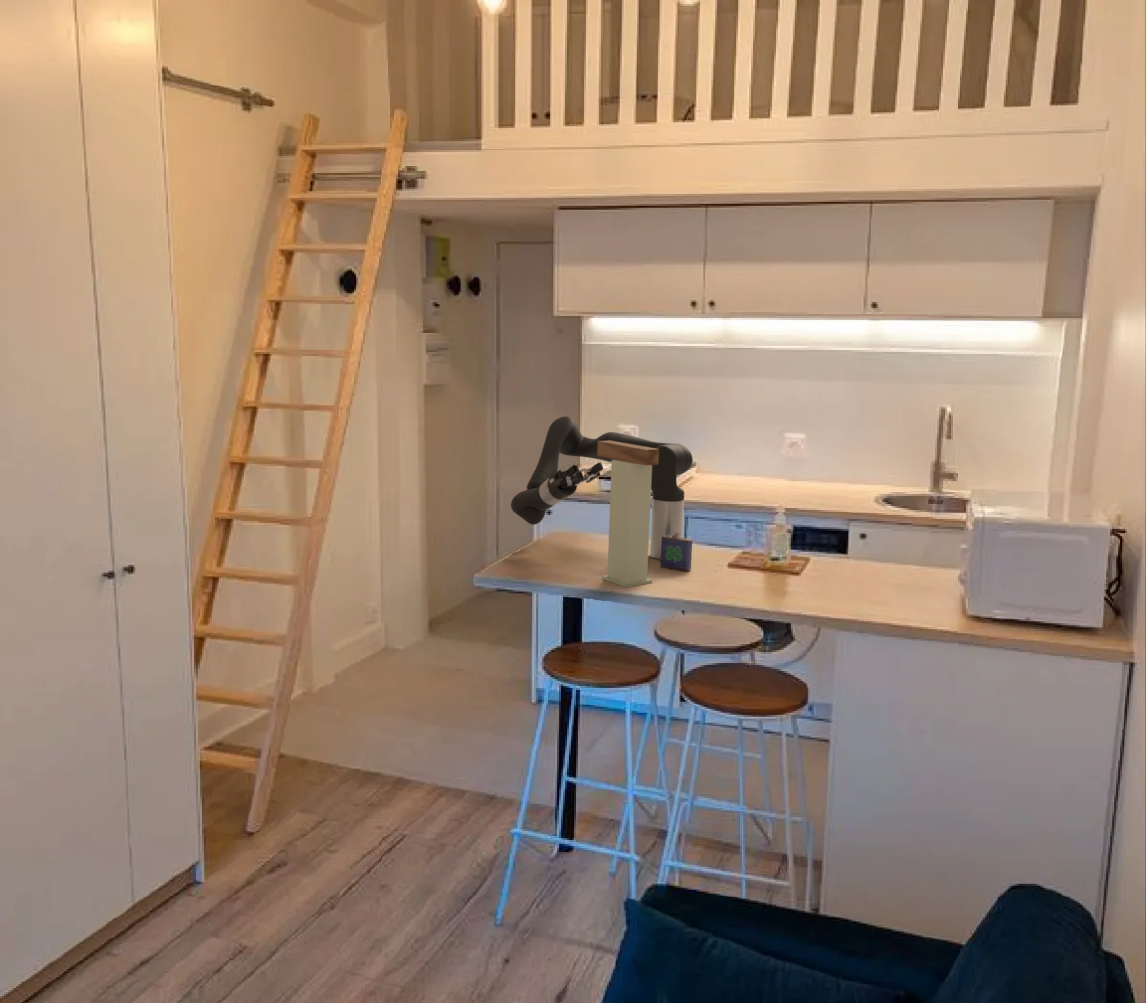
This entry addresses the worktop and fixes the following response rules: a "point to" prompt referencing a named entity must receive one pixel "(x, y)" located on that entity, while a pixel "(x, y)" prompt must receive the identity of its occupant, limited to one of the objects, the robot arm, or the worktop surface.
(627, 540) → the stand
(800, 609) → the worktop surface
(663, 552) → the flask
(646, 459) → the rail
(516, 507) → the robot arm
